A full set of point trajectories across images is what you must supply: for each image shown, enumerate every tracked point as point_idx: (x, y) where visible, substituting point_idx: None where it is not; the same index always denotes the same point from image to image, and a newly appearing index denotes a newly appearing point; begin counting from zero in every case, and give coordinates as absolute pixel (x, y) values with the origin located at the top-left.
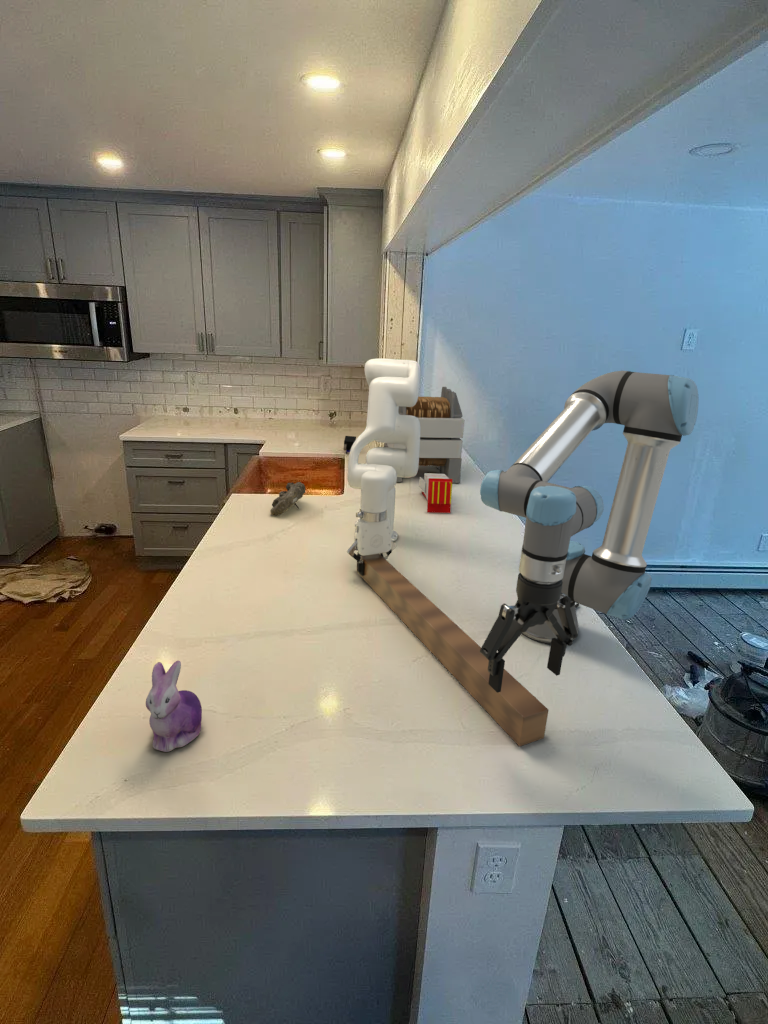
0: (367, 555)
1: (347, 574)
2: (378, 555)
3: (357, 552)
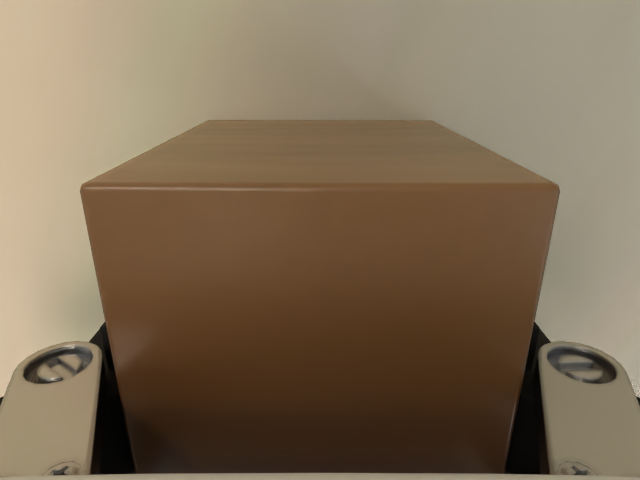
0: (252, 410)
1: (86, 141)
2: (454, 469)
3: (83, 206)
